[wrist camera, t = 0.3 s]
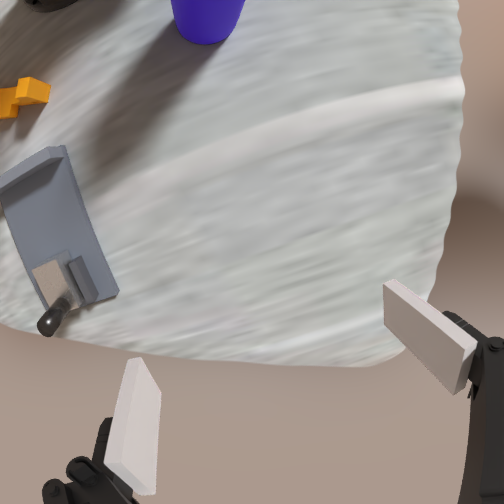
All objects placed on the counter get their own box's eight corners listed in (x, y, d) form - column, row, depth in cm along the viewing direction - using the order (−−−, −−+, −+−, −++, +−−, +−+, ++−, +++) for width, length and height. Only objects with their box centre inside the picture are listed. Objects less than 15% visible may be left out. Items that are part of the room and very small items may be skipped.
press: (1, 183, 32) (-20, 188, 27) (65, 145, 33) (46, 144, 28) (53, 312, 40) (40, 330, 35) (119, 290, 41) (110, 308, 35)
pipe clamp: (-11, 121, 29) (-36, 119, 23) (-7, 94, 28) (-30, 89, 22) (46, 114, 31) (23, 110, 25) (51, 85, 30) (30, 76, 24)
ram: (43, 260, 36) (9, 288, 26) (67, 249, 36) (34, 277, 26) (65, 304, 38) (37, 340, 29) (88, 295, 38) (63, 332, 29)
